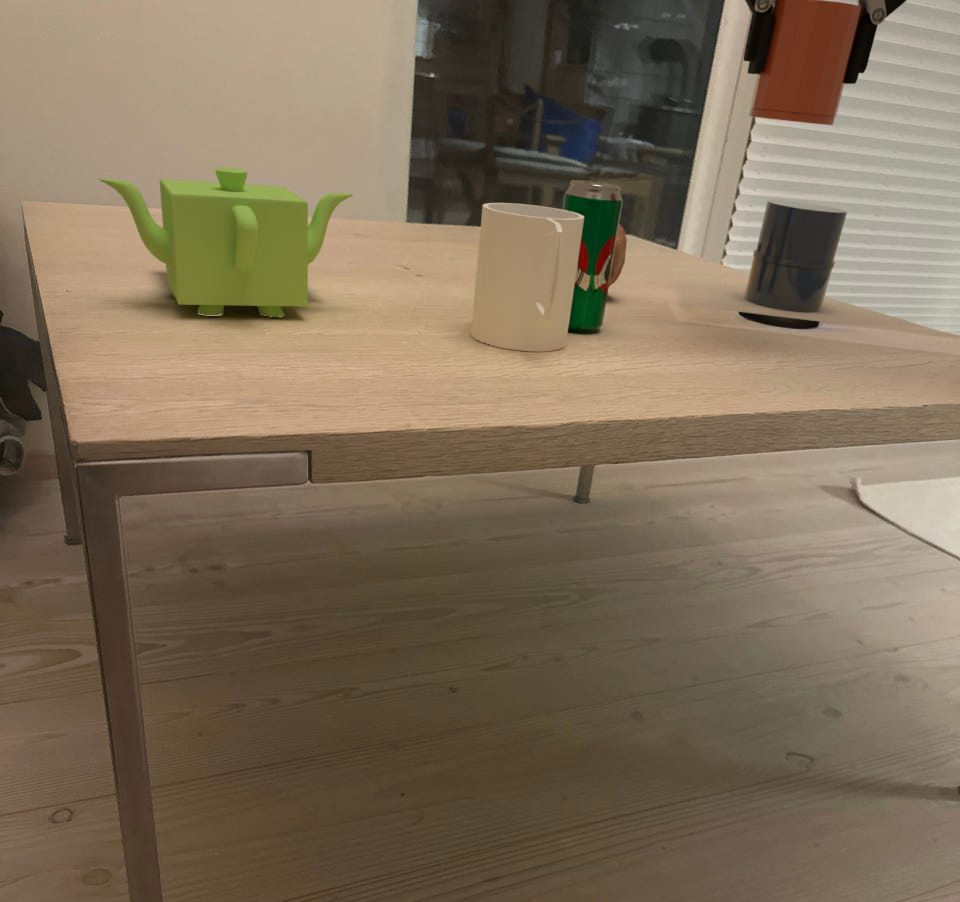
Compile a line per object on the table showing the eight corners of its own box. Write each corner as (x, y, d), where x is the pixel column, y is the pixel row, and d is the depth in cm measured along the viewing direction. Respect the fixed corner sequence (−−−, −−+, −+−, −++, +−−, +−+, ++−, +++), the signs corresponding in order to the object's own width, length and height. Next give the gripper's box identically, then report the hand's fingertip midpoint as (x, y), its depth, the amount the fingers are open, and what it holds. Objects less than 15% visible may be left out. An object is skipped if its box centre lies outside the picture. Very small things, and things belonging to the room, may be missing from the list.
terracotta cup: (821, 123, 79) (848, 11, 75) (842, 126, 74) (873, 5, 69) (742, 115, 79) (765, 3, 75) (758, 117, 74) (784, -4, 69)
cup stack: (808, 315, 102) (838, 206, 96) (826, 332, 95) (860, 216, 89) (732, 306, 102) (758, 197, 96) (745, 322, 95) (773, 205, 89)
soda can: (592, 322, 88) (615, 182, 81) (608, 335, 83) (632, 189, 77) (541, 319, 86) (559, 177, 80) (554, 332, 82) (574, 184, 76)
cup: (494, 362, 72) (509, 222, 66) (461, 324, 81) (472, 200, 76) (593, 366, 74) (615, 230, 68) (550, 328, 83) (566, 207, 78)
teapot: (109, 305, 75) (93, 158, 69) (204, 282, 86) (197, 154, 80) (275, 337, 71) (273, 185, 66) (352, 309, 82) (355, 176, 77)
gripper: (757, -242, 63) (701, 66, 72) (1012, -215, 62) (923, 89, 72) (737, -211, 69) (688, 68, 78) (968, -187, 69) (892, 89, 78)
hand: (801, 76), depth 75 cm, fingers closed on terracotta cup, 6 cm apart
